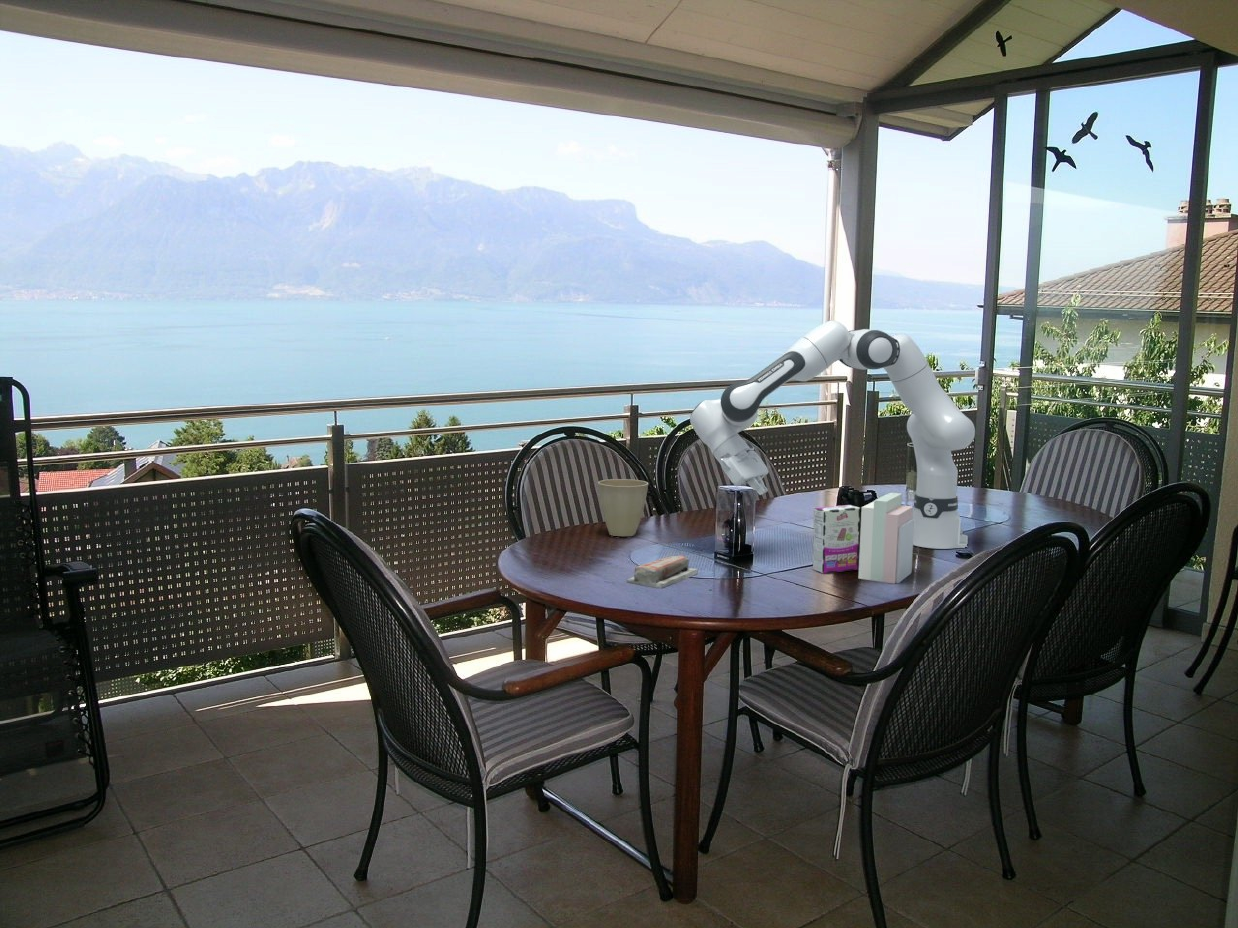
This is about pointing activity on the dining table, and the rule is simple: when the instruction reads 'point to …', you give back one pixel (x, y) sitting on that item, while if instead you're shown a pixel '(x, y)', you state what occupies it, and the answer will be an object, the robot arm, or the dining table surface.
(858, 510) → the candy bar box
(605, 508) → the plant pot
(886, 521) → the book row
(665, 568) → the packaged product
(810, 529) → the dining table surface
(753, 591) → the dining table surface
